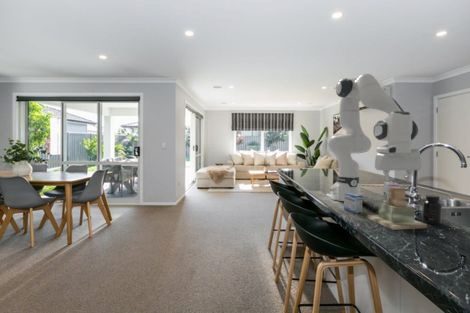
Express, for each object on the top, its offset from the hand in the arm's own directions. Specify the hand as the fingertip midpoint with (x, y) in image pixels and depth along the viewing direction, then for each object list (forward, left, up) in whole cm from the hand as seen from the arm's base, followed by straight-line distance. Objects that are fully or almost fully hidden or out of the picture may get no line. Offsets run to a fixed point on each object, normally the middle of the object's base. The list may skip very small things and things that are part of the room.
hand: (397, 180), depth 118 cm
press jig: (0, 0, -19) cm, 19 cm away
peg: (0, 0, -13) cm, 13 cm away
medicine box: (-21, -7, -19) cm, 29 cm away
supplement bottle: (+2, +17, -19) cm, 25 cm away
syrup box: (-19, +13, -19) cm, 30 cm away
